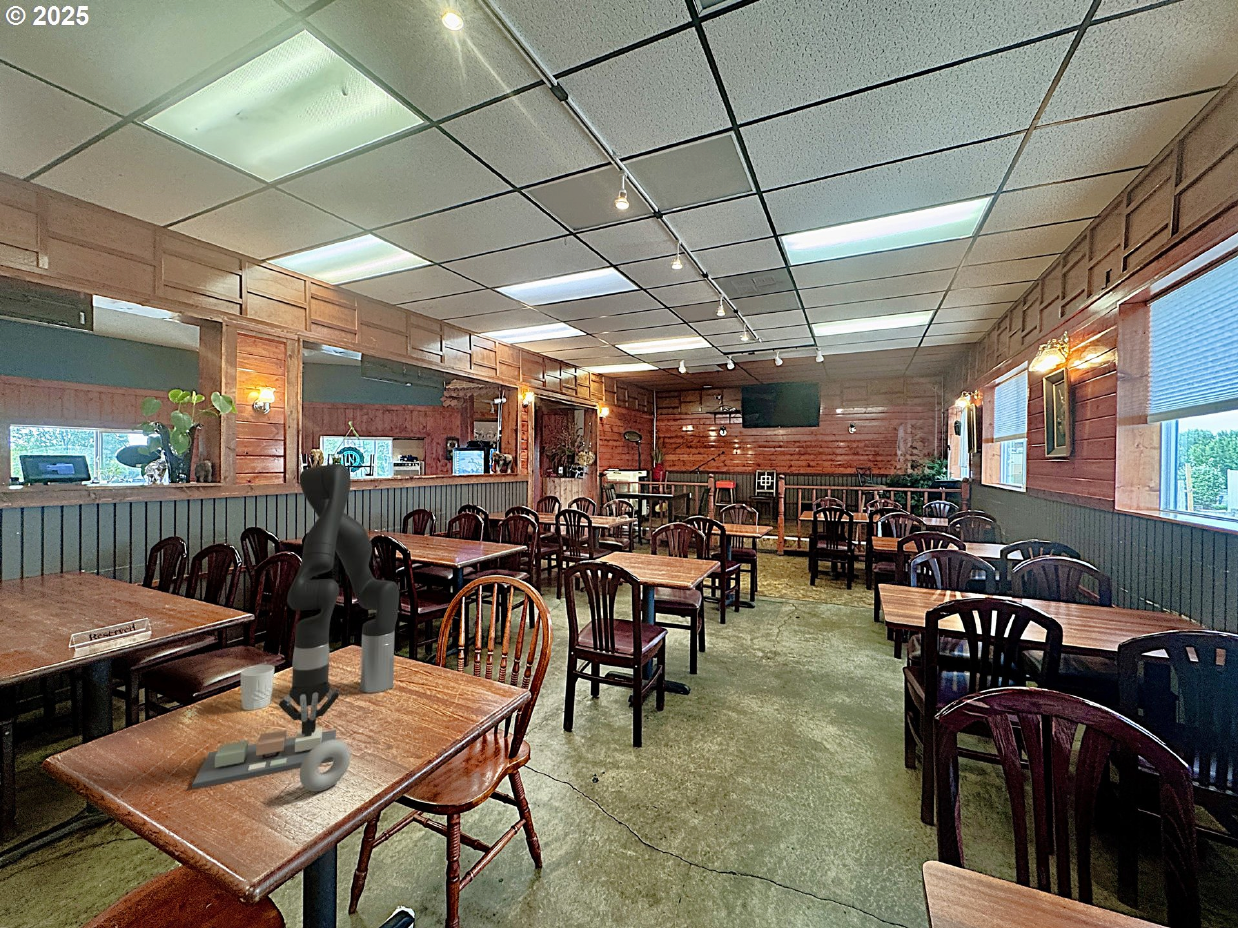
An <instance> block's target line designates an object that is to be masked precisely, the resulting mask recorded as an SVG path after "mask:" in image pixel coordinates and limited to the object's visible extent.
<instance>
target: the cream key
mask: <svg viewBox="0 0 1238 928" xmlns="http://www.w3.org/2000/svg"><path fill="white" fill-rule="evenodd" d="M322 732H323V726H322V727H316V729H315V732H314V733H312V735H311V736H305V734H302V730H297V733H296V736H295V737H296V740H295V752H299V751H301V752H303V751H308V750H312V749H313V748H315V747H316V746H317V745H319V744H321V740H322Z"/></svg>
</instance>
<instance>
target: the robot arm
mask: <svg viewBox="0 0 1238 928" xmlns="http://www.w3.org/2000/svg"><path fill="white" fill-rule="evenodd" d="M351 479H352V478H351V475H350V472H349V470H348V468H347V467H346V466H345V465H344V464H342V463H334V464H333V463H332V464H326V465H324V464H323V465H319V466H313V467H309V468H305V469H303V470H301V472H300V474H299V485H300V488H301V490H302V493H303V495H304V497H305V499H306V500H307V502H308V504H309V505H310V507H311V508H312V509H313V511H314V512H315V514H316V516H317V517H318V518H317V519H316V521H315V522H314V524H313V525H312V527H311V528H310V529H309V531H308V532H307V535H306V537H305V540H304V544H303V549H302V557H301V562H300V566H299V569H298V571H297V574H296V576H295V578H294V580H293V582H291V583H292V584H291V586H290V588H289V590H288V593H287V595H286V596H287V599H286V601H287V604H288V606H289V607H290V608H291V609H292V610H293V611H309V610H311V611H312V610H320V613H318V614H317V615H315V616H310V617H306V618H304V619H301V620H299V621H298V622H297V623H296V625H295V632H294V633H295V635H294V649H293V655H292V673H291V674H292V676H291V679H292V681H291V688H290V689H289V692H288V694H287V695H286V696H284V697H281V698H280V700H279V701H278V702H279V703H278V707H279V708H280V709H282V711H284V713H285V714H286V715H288V716H289V718H291V719H292V720H293V721H301V731H302V734H305V736H311V735H312V733H314V732H315V729H316V728H317V718H319V717H323V716H324V715H325V714H326V713H327V712H328V710H329V709H330V708H331V707H332V705H333V704H334V703H335V702H336V701H337V699H338V698H339V696H340V690H339V689H333V688H332V687H331V683H330V682H329V672H330V671H329V670H330V669H329V668H330V645H329V644H330V643H329V642H330V641H329V640H330V624H331V623H330V622H331V618H332V615H333V611H334V608H335V606H336V603H337V601H338V599H339V595H340V594H339V593H340V587H339V584H338V583H337V582H336V580H335V579H332V578H325V579H324V578H323V579H312V578H313V577H315V576H317V575H320V574H321V575H322V574H324V573H328V572H330V571H331V570H332V569H333V568H334V565H335V556H336V553H337V556H338V558H339V559H340V561H341V563H342V565H343V568H344V569H345V573H346V574H347V576H348V578H349V579H348V580H350V583H351V586H352V590H353V593H354V596H355V599H356V601H357V603H358V605H359V606H360V607H361V608H363V609H365V610H369V611H370V610H371V611H375V618H374V619H370V620H368V621H366V622H364V623H363V624H362V631H361V657H360V658H361V659H360V660H361V661H360V679H359V681H360V682H359V685H360V686H359V687H360V688H359V689H360V690H359V691H361V692H363V693H368V694H369V693H370V694H371V693H374V694H375V693H379V692H384V691H387V690H389V689H392V688H394V678H395V677H394V673H395V654H394V653H395V629H396V622H397V620H398V615H399V614H398V613H399V603H400V601H399V600H400V589H399V586H398V584H397V583H396V582H395V581H391V580H382V579H377V578H375V577H374V576H373V574H372V571H371V569H370V567H369V564H370V560H371V556H372V553H373V545H372V542H371V540H370V536H369V534H368V532H367V531H366V529H365V527H364V526H363V525H362V524H361V523H360V522H359V521H357V520H356V519H355V518H353V517H351V516H350V515H348V514H347V513H345V508H346V506H347V502H348V498H349V495H350V491H351V483H352V482H351V481H352V480H351ZM326 696H327V697H326ZM325 697H326V698H327V699H326V700H325V701H324V703H323V704H322V705H321V706H320V708H319V709H318V704H320V703H321V702H322V701H323V700H324V698H325ZM292 702H295V704H296V705H297V706H299V707H300V710H298V709H297V708H296V707H295V706H294V704H292ZM309 707H310V715H309Z"/></svg>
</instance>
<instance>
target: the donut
mask: <svg viewBox="0 0 1238 928" xmlns="http://www.w3.org/2000/svg"><path fill="white" fill-rule="evenodd" d="M350 750H351V749H350V748H349V746H348V744H347V743H346V742H344V741H343V740H340V739H335V740H334V739H333V740H328V741H325V742H323V743H321V744H319V745H317V746H316V747H315V748H313V749H312V750H311V751H310V752H309V753H308V755H307V756H306V757H305V759H304V761H303V763H302V765H301V768H299V769H300V771H299V781H300V783H301V785H302V786H303V788H305V789H307V790H309V791H310V792H322V791H324V790H327V789H330V788H331V787H333V786H334V785H336V784H337V783H338V782H340V780H341V779H342V778H343V776H344V775H345V774H346V773H347V771H348V768H349V765H350V763H351V758H352V756H351V751H350ZM328 757H332V758H333V761H332V764H331V766H330V767H329V768H328V769H327V770H325V771H324V772H319V767H320V765H321V764H322V763H321V762H322V761H323V760H324V759H326V758H328ZM320 763H321V764H320Z"/></svg>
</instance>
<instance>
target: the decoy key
mask: <svg viewBox="0 0 1238 928" xmlns="http://www.w3.org/2000/svg"><path fill="white" fill-rule="evenodd" d="M287 731H288V730H287V729H281V730H275V731H270V732H265V733H260V735H259V737H258V739H257V741H256V742H257V743H256V744H257V745H256V756H257V755H262V754H265V757H264V758H267V757H266V756H268V757H272V756H271V755H274V756H277V755H276V753H277V752H278V751H283V749H284V746H285V742H286V739H287V734H288V733H287Z"/></svg>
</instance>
